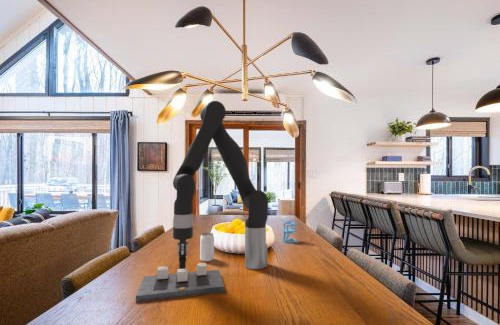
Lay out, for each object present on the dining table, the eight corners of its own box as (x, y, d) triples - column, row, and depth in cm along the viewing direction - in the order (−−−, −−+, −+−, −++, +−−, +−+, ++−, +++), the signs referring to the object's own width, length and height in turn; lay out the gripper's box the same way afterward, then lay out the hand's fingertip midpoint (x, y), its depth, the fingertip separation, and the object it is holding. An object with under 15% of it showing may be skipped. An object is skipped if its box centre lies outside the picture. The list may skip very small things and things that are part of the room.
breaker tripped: (187, 278, 93) (187, 267, 93) (187, 280, 91) (187, 269, 91) (177, 279, 92) (177, 268, 92) (177, 281, 90) (177, 270, 90)
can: (211, 262, 117) (211, 235, 118) (197, 261, 118) (198, 235, 119) (215, 257, 124) (215, 232, 124) (203, 257, 125) (203, 232, 125)
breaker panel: (218, 274, 102) (218, 269, 102) (224, 292, 87) (224, 285, 87) (143, 281, 96) (144, 275, 96) (135, 302, 80) (135, 295, 80)
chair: (280, 240, 156) (280, 220, 157) (293, 239, 158) (293, 220, 159) (285, 243, 149) (285, 223, 150) (298, 242, 151) (298, 222, 152)
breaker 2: (206, 272, 98) (206, 262, 99) (206, 274, 96) (206, 264, 96) (196, 273, 98) (196, 262, 98) (196, 275, 95) (196, 265, 95)
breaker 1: (168, 275, 95) (168, 265, 95) (167, 278, 93) (167, 267, 93) (157, 276, 94) (158, 266, 94) (157, 279, 92) (157, 268, 92)
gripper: (193, 228, 94) (192, 276, 93) (192, 222, 106) (192, 264, 105) (172, 229, 92) (171, 278, 91) (173, 222, 104) (173, 266, 104)
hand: (182, 271), depth 98 cm, fingers closed
